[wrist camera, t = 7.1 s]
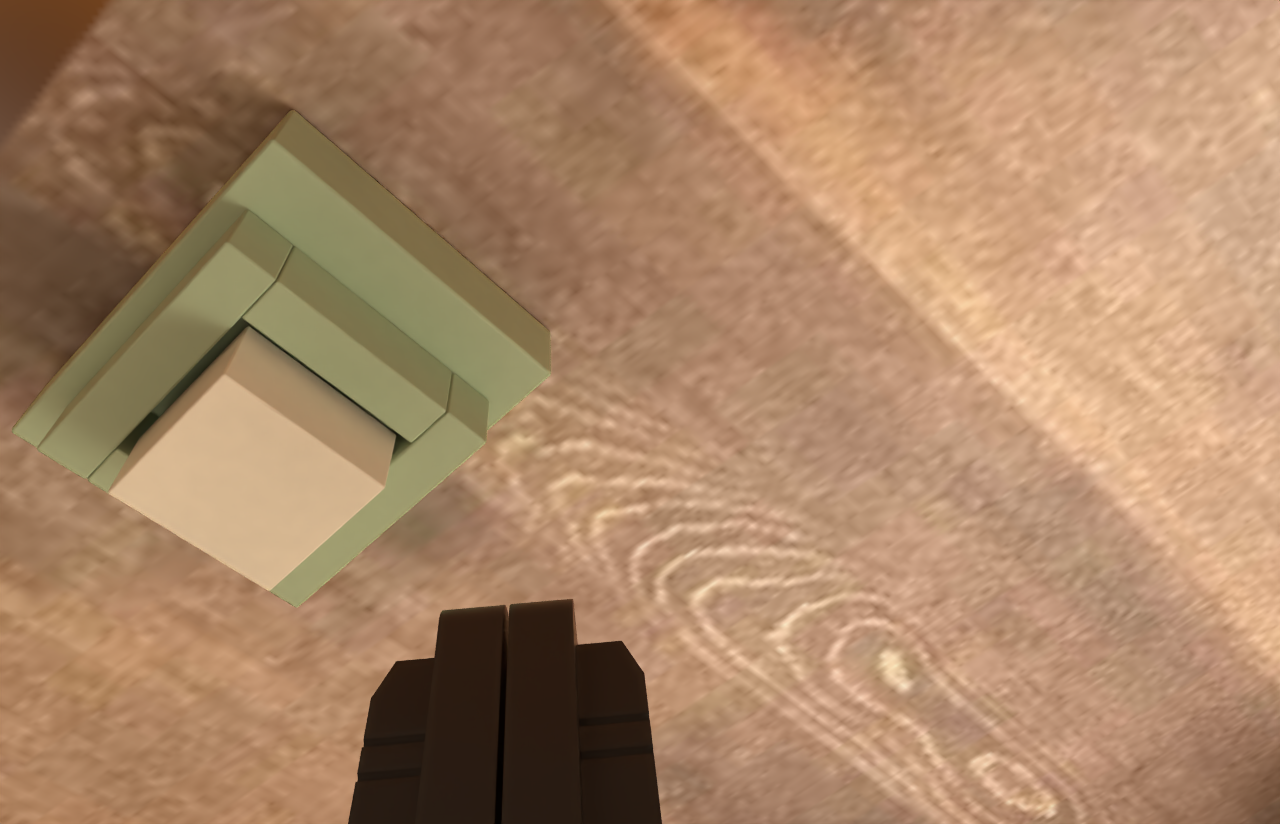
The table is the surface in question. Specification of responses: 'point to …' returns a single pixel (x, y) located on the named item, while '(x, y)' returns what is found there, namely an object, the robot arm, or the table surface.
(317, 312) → the key block
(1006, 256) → the table surface
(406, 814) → the robot arm
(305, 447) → the ivory key
